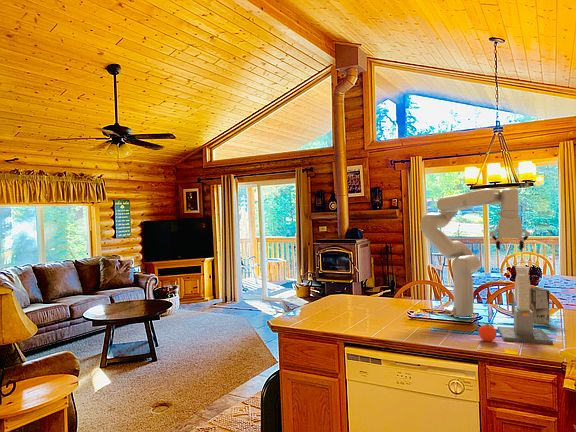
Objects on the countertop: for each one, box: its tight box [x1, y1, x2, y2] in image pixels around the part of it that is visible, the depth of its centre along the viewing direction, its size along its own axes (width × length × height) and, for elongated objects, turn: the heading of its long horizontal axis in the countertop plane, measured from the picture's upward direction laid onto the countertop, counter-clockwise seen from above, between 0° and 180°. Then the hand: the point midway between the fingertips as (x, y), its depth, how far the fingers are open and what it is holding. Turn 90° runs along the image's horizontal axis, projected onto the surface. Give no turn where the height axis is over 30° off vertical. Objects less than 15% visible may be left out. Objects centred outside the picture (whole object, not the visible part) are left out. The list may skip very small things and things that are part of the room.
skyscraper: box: [510, 261, 532, 315], centre depth 227 cm, size 8×8×28 cm
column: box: [516, 273, 530, 312], centre depth 186 cm, size 4×4×19 cm
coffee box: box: [529, 287, 550, 324], centre depth 212 cm, size 9×6×16 cm
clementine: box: [478, 323, 497, 342], centre depth 181 cm, size 8×7×7 cm
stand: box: [497, 307, 554, 345], centre depth 186 cm, size 18×18×12 cm
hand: (509, 249), depth 206 cm, fingers open, 9 cm apart
